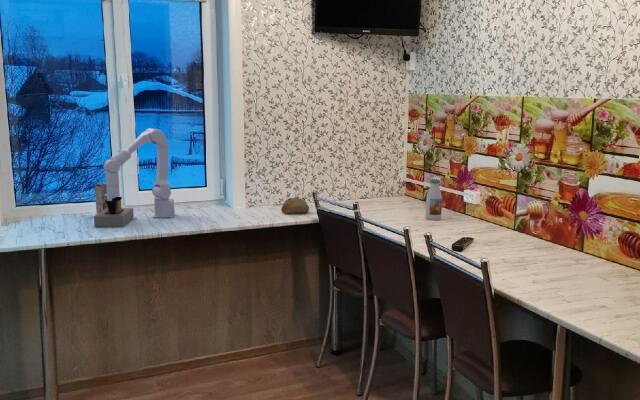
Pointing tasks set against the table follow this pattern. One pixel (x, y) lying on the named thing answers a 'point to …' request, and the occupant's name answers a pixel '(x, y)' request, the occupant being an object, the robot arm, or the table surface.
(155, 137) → the robot arm
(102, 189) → the coffee box
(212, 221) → the table surface
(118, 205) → the walnut block
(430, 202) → the milk bottle
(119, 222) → the well block
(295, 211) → the bread roll
